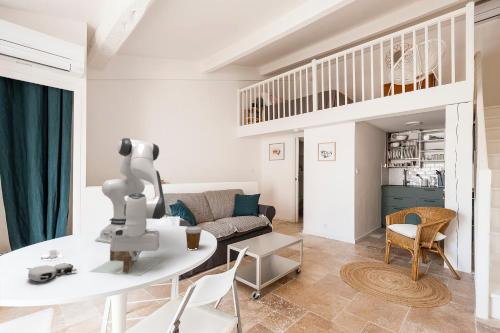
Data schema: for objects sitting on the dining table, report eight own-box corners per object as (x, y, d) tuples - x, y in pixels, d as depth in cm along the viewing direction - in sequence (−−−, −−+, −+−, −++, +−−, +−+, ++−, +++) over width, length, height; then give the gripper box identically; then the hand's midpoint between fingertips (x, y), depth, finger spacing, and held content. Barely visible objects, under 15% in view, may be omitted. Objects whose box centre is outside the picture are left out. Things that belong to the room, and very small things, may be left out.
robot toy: (67, 269, 112) (23, 278, 100) (68, 259, 112) (25, 267, 100) (77, 276, 105) (32, 287, 92) (79, 266, 105) (34, 275, 93)
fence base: (109, 260, 120) (110, 245, 120) (112, 259, 122) (112, 244, 122) (135, 262, 118) (135, 247, 118) (137, 261, 120) (138, 246, 120)
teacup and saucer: (37, 259, 120) (38, 251, 120) (55, 254, 128) (55, 247, 128) (49, 262, 117) (49, 254, 117) (66, 257, 125) (66, 249, 125)
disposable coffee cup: (187, 245, 148) (187, 225, 148) (202, 246, 147) (203, 226, 148) (182, 250, 138) (183, 229, 138) (199, 251, 138) (199, 230, 138)
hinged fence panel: (132, 260, 118) (133, 248, 118) (136, 260, 118) (137, 248, 118) (123, 272, 105) (123, 257, 105) (127, 271, 106) (128, 257, 106)
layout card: (89, 272, 107) (89, 271, 107) (118, 256, 127) (118, 255, 127) (140, 276, 104) (140, 275, 104) (162, 259, 124) (162, 258, 124)
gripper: (161, 228, 114) (160, 257, 114) (115, 228, 112) (114, 258, 112) (157, 231, 108) (156, 262, 108) (109, 231, 106) (108, 263, 105)
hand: (134, 260), depth 110 cm, fingers closed
